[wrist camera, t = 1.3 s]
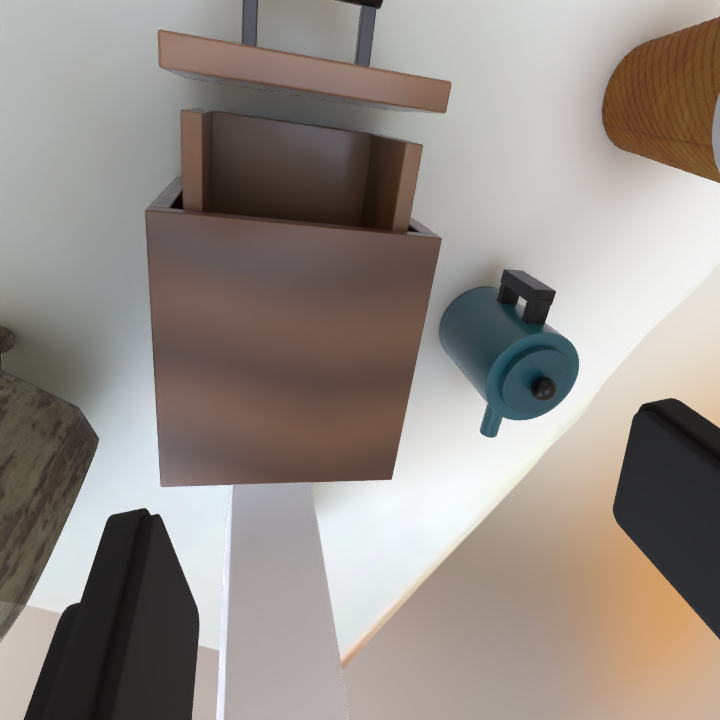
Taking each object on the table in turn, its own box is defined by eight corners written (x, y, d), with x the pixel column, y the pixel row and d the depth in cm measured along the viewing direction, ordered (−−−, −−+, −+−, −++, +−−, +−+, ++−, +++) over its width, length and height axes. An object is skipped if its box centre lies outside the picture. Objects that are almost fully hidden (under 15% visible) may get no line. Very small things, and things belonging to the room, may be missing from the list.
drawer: (180, -50, 22) (151, -116, 16) (414, 1, 25) (475, -36, 18) (187, 297, 30) (170, 354, 23) (367, 307, 33) (399, 361, 26)
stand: (175, 177, 28) (144, 209, 19) (389, 201, 31) (442, 238, 22) (181, 392, 34) (160, 487, 25) (359, 394, 37) (391, 480, 28)
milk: (232, 468, 38) (215, 845, 18) (310, 471, 39) (369, 821, 20) (225, 527, 40) (203, 914, 21) (299, 527, 42) (341, 886, 22)
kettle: (455, 255, 33) (528, 308, 25) (533, 262, 35) (628, 314, 26) (424, 393, 38) (476, 479, 29) (494, 394, 39) (563, 476, 31)
